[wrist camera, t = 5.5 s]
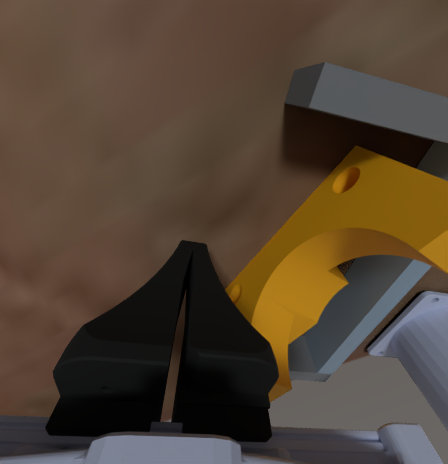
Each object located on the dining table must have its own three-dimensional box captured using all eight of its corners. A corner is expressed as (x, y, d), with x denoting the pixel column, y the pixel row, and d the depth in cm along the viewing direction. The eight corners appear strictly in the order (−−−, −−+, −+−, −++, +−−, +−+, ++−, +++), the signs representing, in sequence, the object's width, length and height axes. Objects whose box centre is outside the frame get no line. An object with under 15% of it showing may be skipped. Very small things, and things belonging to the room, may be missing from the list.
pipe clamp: (268, 311, 18) (291, 411, 12) (222, 291, 16) (224, 393, 11) (406, 189, 12) (557, 267, 7) (354, 144, 11) (491, 198, 6)
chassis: (474, 119, 10) (557, 129, 8) (311, 344, 20) (324, 381, 17) (294, 70, 9) (325, 62, 7) (212, 335, 19) (212, 373, 16)
